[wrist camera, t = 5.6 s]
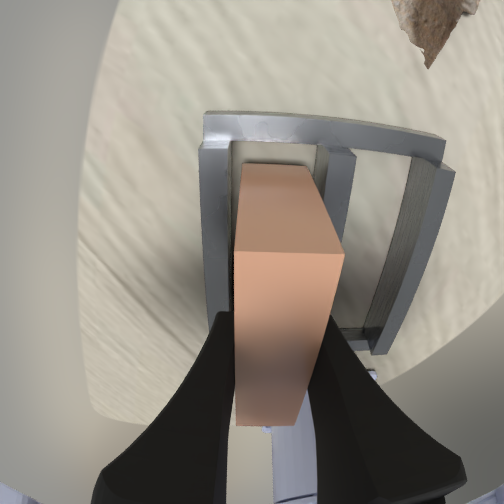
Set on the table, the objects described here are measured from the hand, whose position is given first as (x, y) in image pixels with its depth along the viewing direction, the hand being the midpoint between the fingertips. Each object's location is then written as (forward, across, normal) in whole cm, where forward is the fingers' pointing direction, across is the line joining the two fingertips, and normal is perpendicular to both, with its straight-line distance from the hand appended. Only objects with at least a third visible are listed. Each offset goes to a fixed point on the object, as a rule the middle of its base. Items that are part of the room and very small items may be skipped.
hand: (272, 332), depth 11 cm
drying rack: (+5, -2, 0) cm, 6 cm away
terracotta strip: (+4, 0, 0) cm, 4 cm away
